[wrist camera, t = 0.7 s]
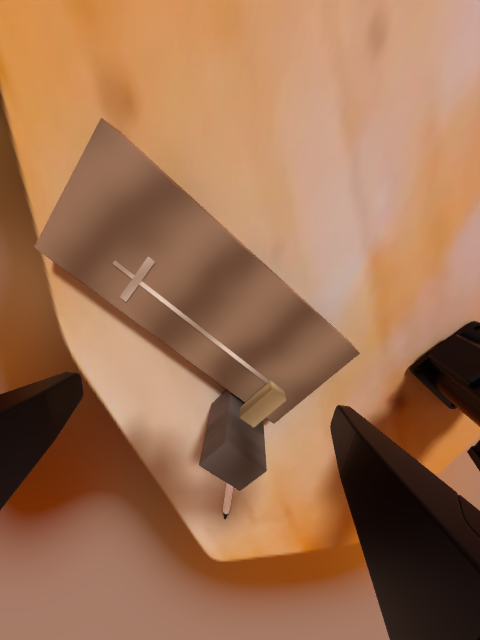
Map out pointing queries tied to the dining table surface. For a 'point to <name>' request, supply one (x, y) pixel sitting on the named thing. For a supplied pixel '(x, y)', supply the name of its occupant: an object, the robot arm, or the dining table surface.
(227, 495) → the pen
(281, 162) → the dining table surface
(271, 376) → the gray rectangular board
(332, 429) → the robot arm
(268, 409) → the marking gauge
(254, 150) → the dining table surface
